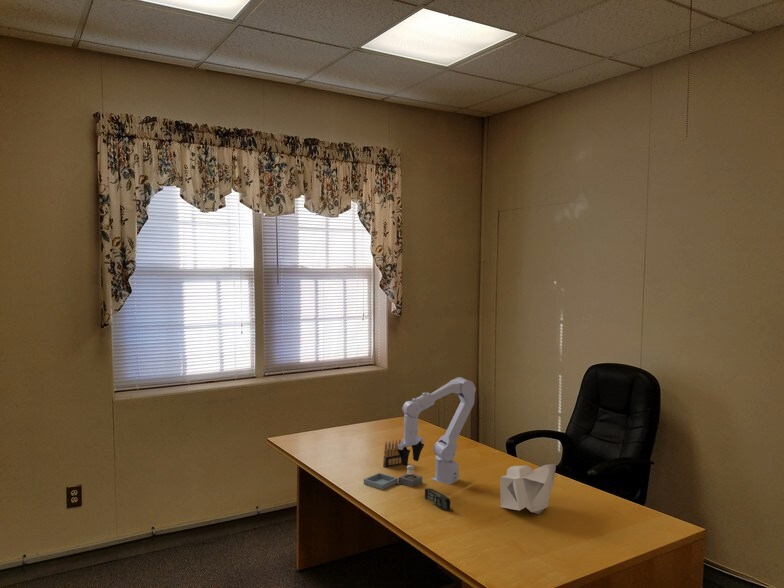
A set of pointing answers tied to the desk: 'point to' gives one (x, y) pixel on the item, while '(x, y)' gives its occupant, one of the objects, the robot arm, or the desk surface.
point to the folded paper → (527, 487)
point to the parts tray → (380, 481)
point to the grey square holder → (410, 480)
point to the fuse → (410, 472)
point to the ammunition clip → (391, 455)
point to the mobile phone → (438, 499)
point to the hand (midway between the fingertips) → (410, 462)
